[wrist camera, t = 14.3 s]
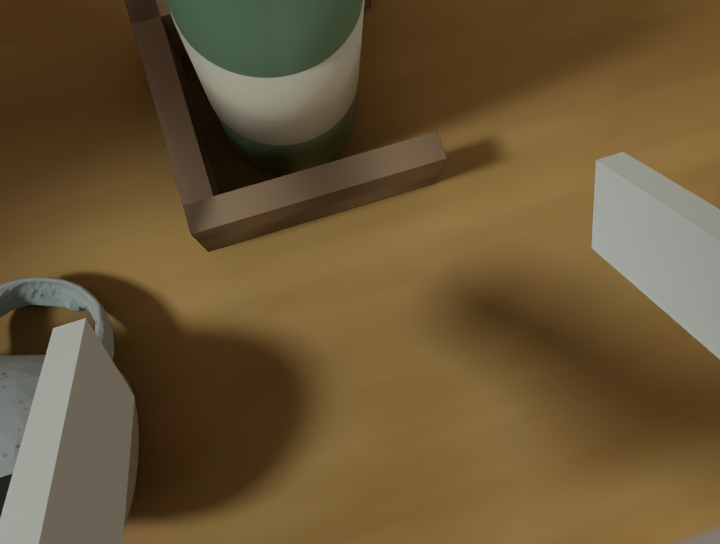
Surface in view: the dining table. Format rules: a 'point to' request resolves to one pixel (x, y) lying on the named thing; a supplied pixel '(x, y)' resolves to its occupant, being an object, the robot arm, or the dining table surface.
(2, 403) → the ceramic mug
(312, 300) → the dining table surface
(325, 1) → the bottle
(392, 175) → the u rest
